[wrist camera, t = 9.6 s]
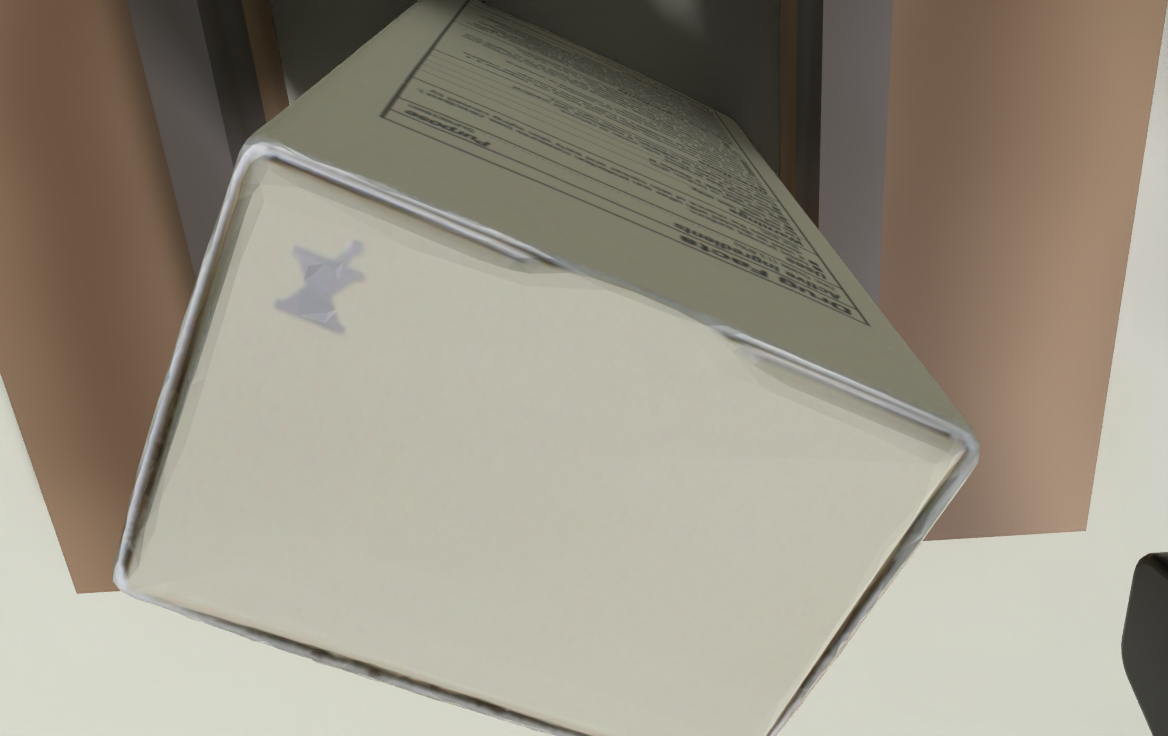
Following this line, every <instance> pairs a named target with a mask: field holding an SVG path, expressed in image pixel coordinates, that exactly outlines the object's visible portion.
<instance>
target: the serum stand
mask: <svg viewBox="0 0 1168 736" xmlns="http://www.w3.org/2000/svg"><path fill="white" fill-rule="evenodd" d="M1167 2H1168V0H781V89H780V180H781V182H782V183H783V184H784V186H785V187H786V188H787V190H788V191H789V192H790V194H791V195H792V196H793V198H794V199H795V200H796V202H797V203H798V204H799V205H800V207H801V208H802V209H803V210H804V212H805V213H806V214H807V216H808V217H809V218H810V219H811V221H812V222H813V223H814V225H815V226H816V227H817V228H818V230H819V231H820V232H821V233H822V235H823V236H824V237H825V239H826V240H827V241H828V243H829V244H830V245H831V246H832V248H833V249H834V250H835V252H836V253H837V254H838V255H839V257H840V258H841V259H842V261H843V262H844V263H845V264H846V266H847V267H848V268H849V270H850V271H851V272H852V274H853V275H854V276H855V278H856V279H857V280H858V282H859V283H860V284H861V286H862V287H863V288H864V289H865V291H866V292H867V293H868V295H869V296H870V297H871V299H872V300H873V301H874V303H875V304H876V305H877V306H878V308H879V309H880V310H881V312H882V313H883V314H884V315H885V317H886V318H887V319H888V321H889V322H890V323H891V324H892V326H893V327H894V328H895V329H896V331H897V332H898V333H899V335H900V336H901V337H902V338H903V340H904V341H905V342H906V344H907V345H908V346H909V347H910V349H911V350H912V351H913V353H914V354H915V355H916V356H917V358H918V359H919V360H920V362H921V363H922V364H923V365H924V367H925V368H926V369H927V371H928V372H929V373H930V374H931V376H932V377H933V378H934V379H935V381H936V382H937V383H938V385H939V386H940V387H941V388H942V390H943V391H944V392H945V394H946V395H947V396H948V397H949V399H950V400H951V401H952V403H953V404H954V405H955V406H956V408H957V409H958V410H959V412H960V413H961V414H962V415H963V417H964V418H965V419H966V421H967V422H968V423H969V425H970V427H971V428H972V430H973V432H974V434H975V436H976V437H977V439H978V441H979V443H980V454H979V460H978V464H977V465H976V467H975V468H974V470H973V471H972V473H971V474H970V475H969V477H968V478H967V480H966V481H965V483H964V484H963V485H962V487H961V488H960V490H959V491H958V492H957V494H956V495H955V496H954V498H953V499H952V501H951V502H950V503H949V505H948V506H947V507H946V509H945V510H944V512H943V513H942V514H941V516H940V517H939V518H938V520H937V521H936V523H935V524H934V525H933V527H932V528H931V530H930V531H929V532H928V534H927V535H926V537H925V538H924V539H923V541H930V540H946V539H962V538H978V537H994V536H1010V535H1027V534H1043V533H1059V532H1075V531H1086V526H1087V520H1088V513H1089V507H1090V500H1091V494H1092V487H1093V481H1094V474H1095V468H1096V461H1097V455H1098V448H1099V442H1100V436H1101V429H1102V423H1103V416H1104V410H1105V403H1106V397H1107V390H1108V384H1109V377H1110V371H1111V364H1112V358H1113V351H1114V345H1115V338H1116V332H1117V325H1118V319H1119V312H1120V306H1121V300H1122V293H1123V287H1124V280H1125V274H1126V267H1127V261H1128V254H1129V248H1130V241H1131V235H1132V228H1133V222H1134V215H1135V209H1136V202H1137V196H1138V189H1139V183H1140V176H1141V170H1142V163H1143V157H1144V151H1145V144H1146V138H1147V131H1148V125H1149V118H1150V112H1151V105H1152V99H1153V92H1154V86H1155V79H1156V73H1157V66H1158V60H1159V53H1160V47H1161V40H1162V34H1163V27H1164V21H1165V14H1166V8H1167ZM288 106H289V101H288V96H287V91H286V86H285V81H284V75H283V70H282V65H281V60H280V55H279V50H278V44H277V39H276V34H275V29H274V24H273V18H272V13H271V8H270V3H269V0H0V373H1V376H2V379H3V382H4V385H5V388H6V391H7V393H8V396H9V399H10V402H11V405H12V408H13V411H14V414H15V417H16V419H17V422H18V425H19V428H20V431H21V434H22V437H23V440H24V442H25V445H26V448H27V451H28V454H29V457H30V460H31V463H32V466H33V468H34V471H35V474H36V477H37V480H38V483H39V486H40V489H41V492H42V494H43V497H44V500H45V503H46V506H47V509H48V512H49V515H50V517H51V520H52V523H53V526H54V529H55V532H56V535H57V538H58V541H59V543H60V546H61V549H62V552H63V555H64V558H65V561H66V564H67V567H68V569H69V572H70V575H71V578H72V581H73V584H74V587H75V590H76V592H77V594H78V593H94V592H110V591H120V590H119V589H118V587H117V586H116V585H115V583H114V582H113V564H114V560H115V557H116V554H117V550H118V546H119V542H120V538H121V534H122V530H123V526H124V522H125V518H126V513H127V508H128V503H129V499H130V495H131V491H132V488H133V484H134V480H135V477H136V473H137V470H138V466H139V463H140V460H141V456H142V453H143V450H144V446H145V443H146V439H147V436H148V432H149V429H150V425H151V422H152V419H153V415H154V412H155V409H156V405H157V402H158V398H159V395H160V391H161V388H162V384H163V381H164V378H165V375H166V372H167V370H168V366H169V363H170V360H171V357H172V354H173V350H174V347H175V344H176V341H177V338H178V335H179V331H180V328H181V325H182V322H183V319H184V316H185V313H186V310H187V307H188V304H189V301H190V298H191V295H192V292H193V289H194V286H195V283H196V280H197V277H198V274H199V270H200V267H201V264H202V261H203V258H204V255H205V252H206V249H207V246H208V243H209V240H210V238H211V235H212V232H213V229H214V226H215V224H216V221H217V218H218V215H219V212H220V210H221V207H222V204H223V201H224V199H225V196H226V193H227V189H228V186H229V184H230V180H231V177H232V174H233V171H234V167H235V164H236V161H237V157H238V154H239V152H240V150H241V148H242V147H243V145H244V143H245V142H246V140H247V139H248V138H249V137H250V136H251V135H253V134H254V133H255V132H256V131H257V130H258V129H260V128H261V127H262V126H264V125H265V124H266V123H268V122H269V121H270V120H272V119H273V118H274V117H275V116H277V115H278V114H279V113H280V112H282V111H283V110H284V109H285V108H287V107H288Z"/></svg>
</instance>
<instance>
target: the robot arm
mask: <svg viewBox="0 0 1168 736" xmlns="http://www.w3.org/2000/svg"><path fill="white" fill-rule="evenodd" d="M1121 650H1122V660H1123V665H1124V668H1125V672H1126V675H1127V677H1128V680H1129V682H1130V684H1131V687H1132V689H1133V691H1134V693H1135V696H1136V698H1137V700H1138V703H1139V705H1140V707H1141V710H1142V712H1143V714H1144V716H1145V719H1146V721H1147V723H1148V726H1149V728H1150V730H1151V732H1152V735H1153V736H1168V552H1160V553H1150V554H1147V555H1146V556H1144V557H1142V558H1141V559H1140V560H1139V562H1138V564H1137V565H1136V568H1135V571H1134V575H1133V580H1132V586H1131V591H1130V597H1129V602H1128V608H1127V613H1126V619H1125V624H1124V630H1123V635H1122V643H1121Z"/></svg>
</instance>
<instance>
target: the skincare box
mask: <svg viewBox="0 0 1168 736" xmlns="http://www.w3.org/2000/svg"><path fill="white" fill-rule="evenodd" d="M979 454H980V443H979V441H978V439H977V437H976V436H975V434H974V432H973V430H972V428H971V427H970V425H969V423H968V422H967V421H966V419H965V418H964V417H963V415H962V414H961V413H960V412H959V410H958V409H957V408H956V406H955V405H954V404H953V403H952V401H951V400H950V399H949V397H948V396H947V395H946V394H945V392H944V391H943V390H942V388H941V387H940V386H939V385H938V383H937V382H936V381H935V379H934V378H933V377H932V376H931V374H930V373H929V372H928V371H927V369H926V368H925V367H924V365H923V364H922V363H921V362H920V360H919V359H918V358H917V356H916V355H915V354H914V353H913V351H912V350H911V349H910V347H909V346H908V345H907V344H906V342H905V341H904V340H903V338H902V337H901V336H900V335H899V333H898V332H897V331H896V329H895V328H894V327H893V326H892V324H891V323H890V322H889V321H888V319H887V318H886V317H885V315H884V314H883V313H882V312H881V310H880V309H879V308H878V306H877V305H876V304H875V303H874V301H873V300H872V299H871V297H870V296H869V295H868V293H867V292H866V291H865V289H864V288H863V287H862V286H861V284H860V283H859V282H858V280H857V279H856V278H855V276H854V275H853V274H852V272H851V271H850V270H849V268H848V267H847V266H846V264H845V263H844V262H843V261H842V259H841V258H840V257H839V255H838V254H837V253H836V252H835V250H834V249H833V248H832V246H831V245H830V244H829V243H828V241H827V240H826V239H825V237H824V236H823V235H822V233H821V232H820V231H819V230H818V228H817V227H816V226H815V225H814V223H813V222H812V221H811V219H810V218H809V217H808V216H807V214H806V213H805V212H804V210H803V209H802V208H801V207H800V205H799V204H798V203H797V202H796V200H795V199H794V198H793V196H792V195H791V194H790V192H789V191H788V190H787V188H786V187H785V186H784V184H783V183H782V182H781V180H780V179H779V178H778V177H777V175H776V174H775V173H774V172H773V170H772V169H771V168H770V166H769V165H768V164H767V163H766V161H765V160H764V159H763V157H762V156H761V154H760V153H759V152H758V151H757V149H756V148H755V147H754V145H753V144H752V143H751V142H750V140H749V139H748V138H747V136H746V135H745V134H744V132H743V131H742V130H741V128H740V127H739V126H738V124H737V123H736V122H735V121H734V120H733V119H731V118H729V117H727V116H725V115H723V114H721V113H720V112H718V111H716V110H714V109H712V108H710V107H708V106H706V105H704V104H702V103H700V102H698V101H696V100H694V99H692V98H690V97H688V96H686V95H684V94H682V93H680V92H678V91H676V90H674V89H672V88H670V87H668V86H666V85H663V84H661V83H659V82H657V81H655V80H653V79H651V78H649V77H647V76H645V75H643V74H641V73H639V72H637V71H634V70H632V69H630V68H628V67H626V66H624V65H622V64H619V63H617V62H615V61H613V60H611V59H608V58H606V57H604V56H602V55H600V54H597V53H595V52H593V51H591V50H588V49H586V48H584V47H582V46H580V45H577V44H575V43H573V42H571V41H569V40H567V39H564V38H562V37H560V36H558V35H555V34H553V33H551V32H549V31H547V30H544V29H542V28H540V27H537V26H535V25H533V24H531V23H528V22H526V21H524V20H521V19H519V18H517V17H514V16H512V15H510V14H507V13H505V12H503V11H500V10H498V9H496V8H493V7H491V6H488V5H486V4H483V3H481V2H479V1H476V0H418V1H417V2H416V3H415V4H414V5H412V6H411V7H410V8H408V9H407V10H406V11H405V12H403V13H402V14H401V15H400V16H399V17H398V18H396V19H395V20H393V21H392V22H391V23H390V24H389V25H387V26H386V27H385V28H384V29H383V30H381V31H380V32H379V33H378V34H376V35H375V36H374V37H373V38H372V39H370V40H369V41H368V42H366V43H365V44H364V45H362V46H361V47H360V48H359V49H357V50H356V51H355V52H354V53H353V54H352V55H351V56H350V57H348V58H347V59H346V60H345V61H344V62H343V63H341V64H339V65H338V66H337V67H336V68H334V69H333V70H332V71H331V72H330V73H329V74H327V75H326V76H325V77H323V78H322V79H321V80H320V81H319V82H318V83H316V84H315V85H314V86H312V87H311V88H310V89H309V90H307V91H306V92H305V93H304V94H302V95H301V96H300V97H299V98H297V99H296V100H295V101H294V102H293V103H292V104H290V105H289V106H288V107H287V108H285V109H284V110H283V111H282V112H280V113H279V114H278V115H277V116H275V117H274V118H273V119H272V120H270V121H269V122H268V123H266V124H265V125H264V126H262V127H261V128H260V129H258V130H257V131H256V132H255V133H254V134H253V135H251V136H250V137H249V138H248V139H247V140H246V142H245V143H244V145H243V147H242V148H241V150H240V152H239V154H238V157H237V161H236V164H235V167H234V171H233V174H232V177H231V180H230V184H229V186H228V189H227V193H226V196H225V199H224V201H223V204H222V207H221V210H220V212H219V215H218V218H217V221H216V224H215V226H214V229H213V232H212V235H211V238H210V240H209V243H208V246H207V249H206V252H205V255H204V258H203V261H202V264H201V267H200V270H199V274H198V277H197V280H196V283H195V286H194V289H193V292H192V295H191V298H190V301H189V304H188V307H187V310H186V313H185V316H184V319H183V322H182V325H181V328H180V331H179V335H178V338H177V341H176V344H175V347H174V350H173V354H172V357H171V360H170V363H169V366H168V370H167V372H166V375H165V378H164V381H163V384H162V388H161V391H160V395H159V398H158V402H157V405H156V409H155V412H154V415H153V419H152V422H151V425H150V429H149V432H148V436H147V439H146V443H145V446H144V450H143V453H142V456H141V460H140V463H139V466H138V470H137V473H136V477H135V480H134V484H133V488H132V491H131V495H130V499H129V503H128V508H127V513H126V518H125V522H124V526H123V530H122V534H121V538H120V542H119V546H118V550H117V554H116V557H115V560H114V564H113V582H114V583H115V585H116V586H117V587H118V589H119V590H120V591H122V592H124V593H126V594H128V595H130V596H132V597H134V598H136V599H138V600H142V601H145V602H148V603H151V604H154V605H157V606H160V607H163V608H166V609H169V610H172V611H175V612H177V613H179V614H181V615H184V616H186V617H188V618H190V619H193V620H197V621H201V622H204V623H206V624H209V625H212V626H215V627H218V628H221V629H224V630H227V631H230V632H233V633H235V634H238V635H240V636H243V637H245V638H248V639H250V640H253V641H256V642H260V643H265V644H268V645H270V646H273V647H275V648H278V649H281V650H284V651H286V652H289V653H292V654H295V655H299V656H302V657H306V658H310V659H312V660H314V661H315V662H317V663H321V664H324V665H328V666H332V667H335V668H339V669H342V670H345V671H348V672H351V673H354V674H357V675H360V676H363V677H365V678H368V679H371V680H375V681H379V682H383V683H387V684H390V685H394V686H396V687H399V688H402V689H405V690H408V691H411V692H414V693H417V694H420V695H423V696H426V697H429V698H432V699H435V700H438V701H442V702H446V703H449V704H453V705H456V706H459V707H462V708H466V709H469V710H472V711H475V712H478V713H482V714H485V715H488V716H491V717H495V718H498V719H501V720H504V721H508V722H511V723H514V724H517V725H520V726H524V727H528V728H530V729H532V730H536V731H540V732H545V733H549V734H552V735H554V736H776V735H777V734H778V733H779V732H780V730H781V729H782V728H783V727H784V726H785V724H786V723H787V722H788V721H789V719H790V718H791V717H792V716H793V714H794V713H795V712H796V711H797V709H798V708H799V707H800V706H801V704H802V703H803V701H804V700H805V699H806V697H807V696H808V694H809V693H810V691H811V690H812V689H813V688H814V686H815V685H816V684H817V682H818V681H819V680H820V679H821V677H822V676H823V675H824V673H825V672H826V671H827V669H828V668H829V667H830V666H831V664H832V663H833V662H834V661H835V660H836V658H837V657H838V656H839V655H840V654H841V652H842V651H843V649H844V647H845V646H846V644H847V643H848V642H849V640H850V639H851V638H852V637H853V635H854V634H855V633H856V631H857V630H858V628H859V627H860V625H861V624H862V622H863V621H864V619H865V618H866V616H867V615H868V614H869V612H870V611H871V610H872V608H873V607H874V606H875V604H876V603H877V602H878V600H879V599H880V598H881V596H882V595H883V594H884V593H885V591H886V590H887V589H888V587H889V586H890V585H891V583H892V582H893V580H894V579H895V578H896V576H897V575H898V574H899V573H900V571H901V570H902V569H903V567H904V566H905V565H906V564H907V562H908V561H909V559H910V558H911V556H912V555H913V554H914V552H915V551H916V549H917V548H918V547H919V545H920V544H921V542H922V541H923V539H924V538H925V537H926V535H927V534H928V532H929V531H930V530H931V528H932V527H933V525H934V524H935V523H936V521H937V520H938V518H939V517H940V516H941V514H942V513H943V512H944V510H945V509H946V507H947V506H948V505H949V503H950V502H951V501H952V499H953V498H954V496H955V495H956V494H957V492H958V491H959V490H960V488H961V487H962V485H963V484H964V483H965V481H966V480H967V478H968V477H969V475H970V474H971V473H972V471H973V470H974V468H975V467H976V465H977V464H978V460H979Z"/></svg>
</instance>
